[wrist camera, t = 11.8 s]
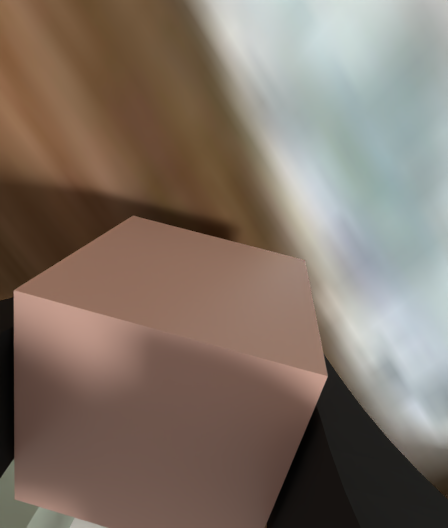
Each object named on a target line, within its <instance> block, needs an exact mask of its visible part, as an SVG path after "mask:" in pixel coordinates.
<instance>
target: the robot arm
mask: <svg viewBox="0 0 448 528" xmlns="http://www.w3.org/2000/svg"><path fill="white" fill-rule="evenodd" d="M324 359H325V364H326V369H327V374H328V377H327V380H326V382H325V384H324V387H323V389H322V392H321V394H320V396H319V399H318V401H317V404H316V406H315V408H314V411H313V413H312V416H311V418H310V420H309V423H308V425H307V428H306V430H305V432H304V435H303V437H302V439H301V442H300V444H299V447H298V449H297V451H296V454H295V456H294V459H293V461H292V463H291V466H290V468H289V471H288V473H287V475H286V478H285V480H284V483H283V485H282V487H281V490H280V492H279V495H278V497H277V499H276V502H275V504H274V507H273V509H272V511H271V514H270V516H269V519H268V521H267V528H448V499H447V498H446V497H445V496H444V495H442V494H441V493H440V492H439V491H438V490H437V489H436V488H435V487H434V486H433V485H432V484H431V483H430V482H429V481H428V480H427V479H426V478H425V477H424V476H423V475H422V474H421V473H420V472H419V471H418V470H417V469H416V468H415V467H414V466H413V465H412V464H411V463H410V462H409V461H408V460H407V458H406V457H405V456H404V455H403V454H402V453H401V452H400V451H399V450H398V449H397V448H396V447H395V446H394V445H393V444H392V442H391V441H390V440H389V439H388V438H387V437H386V436H385V435H384V433H383V432H382V431H381V430H380V429H379V428H378V426H377V425H376V424H375V423H374V421H373V420H372V419H371V418H370V417H369V415H368V414H367V413H366V412H365V410H364V409H363V408H362V407H361V405H360V404H359V403H358V401H357V400H356V399H355V398H354V396H353V395H352V394H351V392H350V391H349V390H348V388H347V387H346V385H345V384H344V383H343V381H342V380H341V378H340V377H339V376H338V374H337V373H336V371H335V370H334V368H333V367H332V365H331V364H330V363H329V361H328V360H327V358H326V357H325V355H324ZM13 460H14V297H13V298H9V299H5V300H1V301H0V478H1V477H2V475H3V474H4V472H5V471H6V469H7V468H8V466H9V465H10V464H11V462H12V461H13Z"/></svg>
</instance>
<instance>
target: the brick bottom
mask: <svg viewBox="0 0 448 528" xmlns="http://www.w3.org/2000/svg"><path fill="white" fill-rule="evenodd" d="M73 520H74V517H71V516H68V515H64V514H61V513H58V512H55V511H51V510H48V509H45V508H41V507H38V506H35V505H31V504H28V503H25V502H22V501H18V500H15V492H14V460H13V461H12V462H11V464H10V465H9V466H8V468H7V469H6V471H5V472H4V474H3V475H2V477H1V478H0V528H70V526H71V524H72V522H73Z"/></svg>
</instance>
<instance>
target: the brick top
mask: <svg viewBox="0 0 448 528" xmlns="http://www.w3.org/2000/svg"><path fill="white" fill-rule="evenodd" d="M327 377H328V374H327V369H326V364H325V359H324V354H323V349H322V344H321V339H320V333H319V328H318V323H317V318H316V313H315V308H314V303H313V298H312V293H311V287H310V282H309V277H308V272H307V267H306V262H305V260H303V259H299V258H295V257H291V256H287V255H283V254H279V253H275V252H272V251H268V250H264V249H260V248H256V247H252V246H248V245H245V244H241V243H237V242H233V241H229V240H225V239H221V238H218V237H214V236H210V235H206V234H202V233H198V232H194V231H191V230H187V229H183V228H179V227H175V226H171V225H167V224H164V223H160V222H156V221H152V220H148V219H144V218H140V217H137V216H131V217H130V218H128V219H127V220H125V221H123V222H122V223H120V224H119V225H117V226H115V227H114V228H112V229H111V230H109V231H107V232H106V233H104V234H103V235H101V236H99V237H98V238H96V239H95V240H93V241H92V242H90V243H88V244H87V245H85V246H84V247H82V248H80V249H79V250H77V251H76V252H74V253H72V254H71V255H69V256H68V257H66V258H64V259H63V260H61V261H60V262H58V263H56V264H55V265H53V266H52V267H50V268H48V269H47V270H45V271H44V272H42V273H40V274H39V275H37V276H36V277H34V278H32V279H31V280H29V281H28V282H26V283H24V284H23V285H21V286H20V287H18V288H16V289H15V290H14V492H15V500H18V501H22V502H25V503H28V504H31V505H35V506H38V507H41V508H45V509H48V510H51V511H55V512H58V513H61V514H64V515H68V516H71V517H74V518H78V519H81V520H84V521H88V522H91V523H94V524H97V525H101V526H104V527H107V528H265V526H266V523H267V521H268V519H269V516H270V514H271V511H272V509H273V507H274V504H275V502H276V499H277V497H278V495H279V492H280V490H281V487H282V485H283V483H284V480H285V478H286V475H287V473H288V471H289V468H290V466H291V463H292V461H293V459H294V456H295V454H296V451H297V449H298V447H299V444H300V442H301V439H302V437H303V435H304V432H305V430H306V428H307V425H308V423H309V420H310V418H311V416H312V413H313V411H314V408H315V406H316V404H317V401H318V399H319V396H320V394H321V392H322V389H323V387H324V384H325V382H326V380H327Z"/></svg>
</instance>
